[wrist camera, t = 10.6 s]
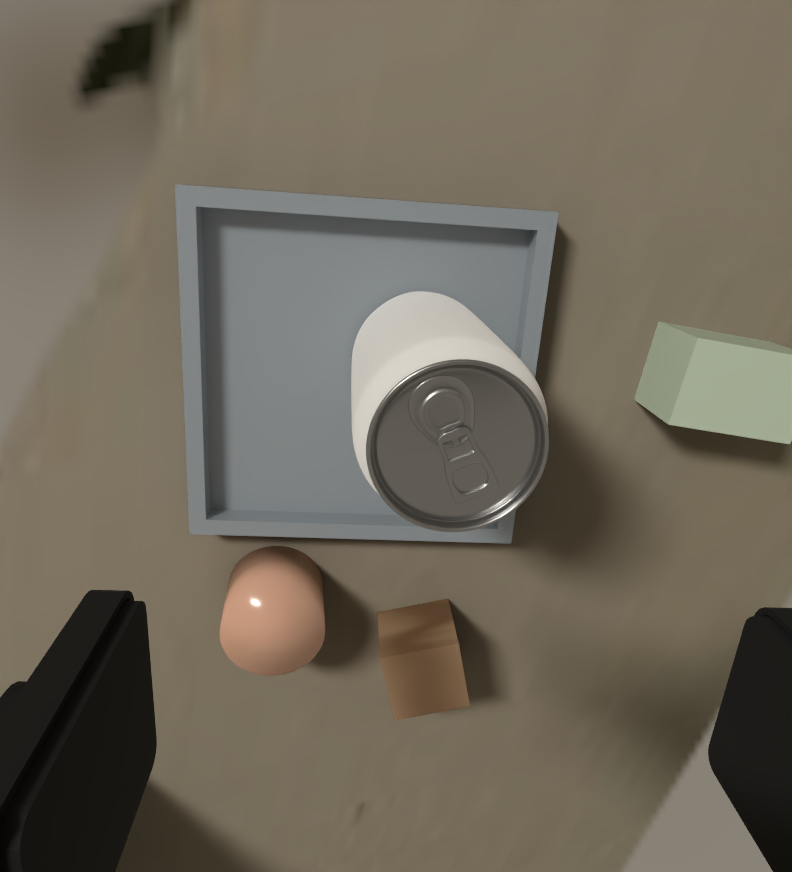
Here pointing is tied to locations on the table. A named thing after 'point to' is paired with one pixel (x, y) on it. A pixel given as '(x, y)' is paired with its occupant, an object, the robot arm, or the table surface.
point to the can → (444, 415)
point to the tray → (324, 343)
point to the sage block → (718, 383)
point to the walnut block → (421, 660)
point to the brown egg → (273, 612)
